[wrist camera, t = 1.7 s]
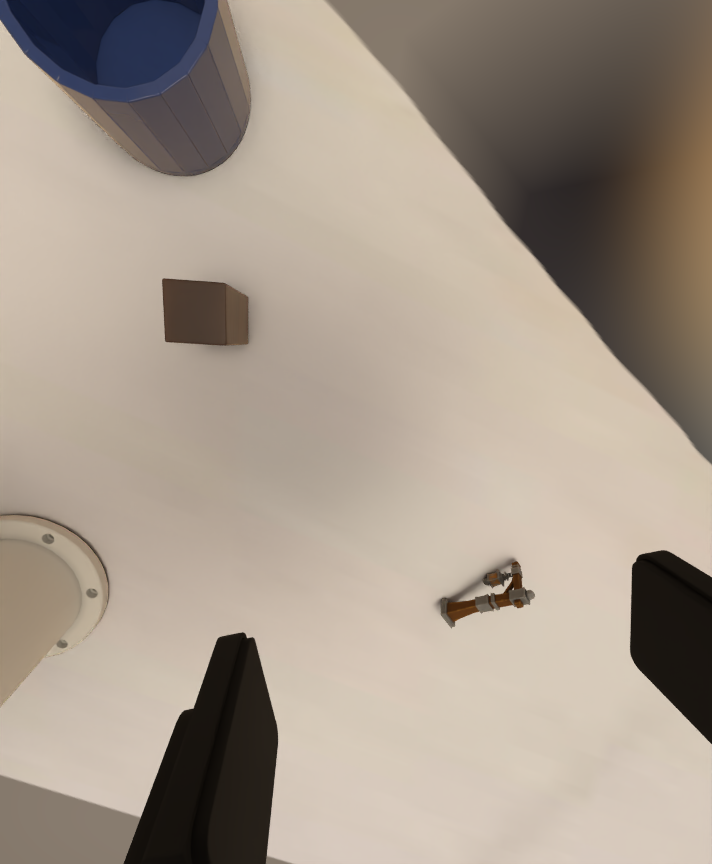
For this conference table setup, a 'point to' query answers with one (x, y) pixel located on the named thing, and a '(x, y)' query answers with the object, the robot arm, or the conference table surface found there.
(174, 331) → the walnut peg
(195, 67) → the mug
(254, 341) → the conference table surface
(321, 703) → the conference table surface
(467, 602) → the wooden post with brackets
